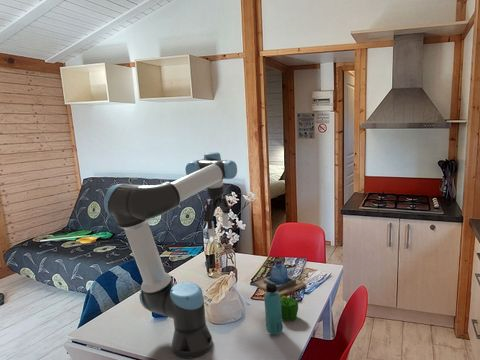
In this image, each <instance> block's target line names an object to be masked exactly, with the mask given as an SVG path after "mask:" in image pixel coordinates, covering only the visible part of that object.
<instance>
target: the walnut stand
mask: <svg viewBox="0 0 480 360" xmlns="http://www.w3.org/2000/svg"><path fill="white" fill-rule="evenodd" d="M287 276H288V282H285V283H282V284H280V285H276V286H277V291H276V292H277V293H279V294H280V296H282V297H283V295H284V296H286V295H285V294H287V293H289V294H291V293H290V292H292V291H294V292H296V291H295V290H297V291H299V290H301V289H300V288H302V289H304V288H306V287H307V284H306V283H305V282H303V281H301V280H299V279H296V278H295V277H293V276H291V275H289V274H287ZM270 283H273V282H271V276H266V277H264V278H262V279H260V280H257V281H254V283H253V284H254V286H255V287H256V288H258V289H260V290H261V289H262V290H261V291H263V290H264V291H263V292H265V293H266V292H267V291H266V286H267V284H270ZM273 284H275V283H273ZM303 287H304V288H303ZM298 289H299V290H298ZM292 293H293V292H292ZM287 295H288V294H287Z"/></svg>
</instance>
